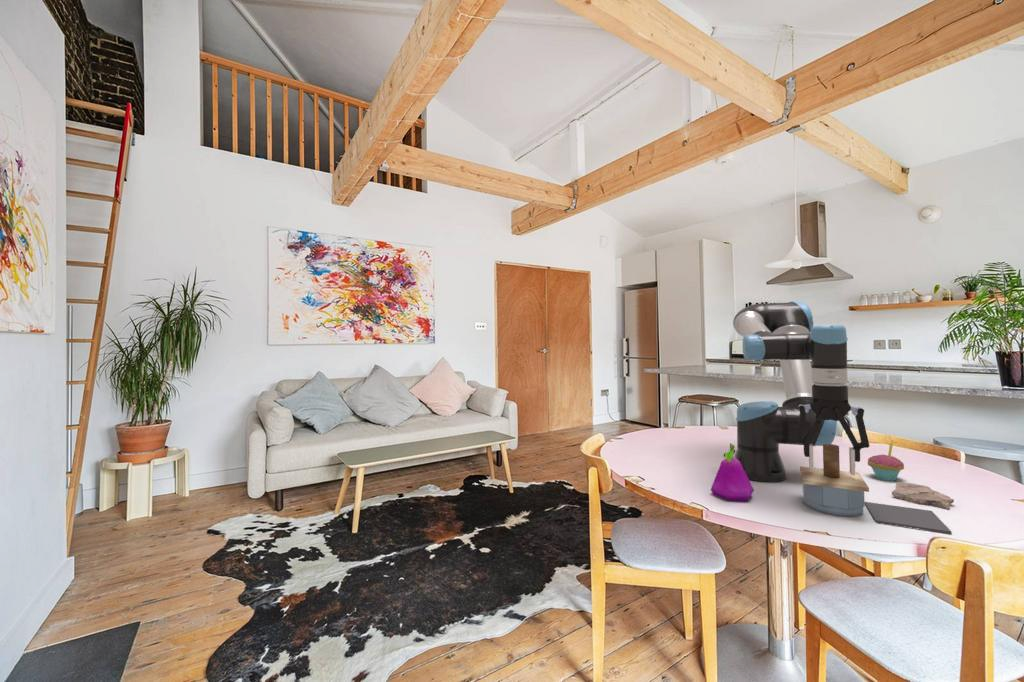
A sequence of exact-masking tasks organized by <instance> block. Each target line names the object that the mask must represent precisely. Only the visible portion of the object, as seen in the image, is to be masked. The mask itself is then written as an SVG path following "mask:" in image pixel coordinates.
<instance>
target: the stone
mask: <svg viewBox="0 0 1024 682" xmlns="http://www.w3.org/2000/svg"><path fill="white" fill-rule="evenodd" d="M894 487H895V488H894V490H892V491H891V495H892V496H893V498H895V499H897V500H901V501H905V502H908V503H912V504H917V505H920V506H921V505H926V506H931V507H936V508H939V509H943V510H950V509H951V508H950V507H951V505H952V504H953V503H954V502H955V499H954V498H951V497H950V496H948V495H946V494H944V493H940V492H938V491H937V490H934V489H932V488H931V487H930V486H927V485H923V484H917V483H910V482H903V481H898V482H896V483H895V486H894Z"/></svg>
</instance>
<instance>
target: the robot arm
mask: <svg viewBox="0 0 1024 682" xmlns="http://www.w3.org/2000/svg"><path fill="white" fill-rule="evenodd" d="M813 318H814V317H813V312H812V310H811V308H810V307H809V305H808V304H807V303H805V302H803V301H801V302H800V301H789V302H773V303H772V302H769V303H768V302H766V303H756V304H750V305H748V306H746V307H744V308H742V309H740V310H739V311H738V312H737V314H735V315H734V318H733V320H732V321H733V322H732V324H733V328H734V330H735V332H736V333H737V334H739V336H741V337H743V338H742V355H743V358H744V359H745V360H748V361H750V360H751V361H752V360H753V361H757V362H758V361H779V363H780V365H779V366H780V370H781V375H782V381H783V387H784V394H785V397H786V399H785V400H784V401H783V402H782V403H781V406H779V404H778V403H777V402H776V401H771V400H770V401H751V402H746V403H742V404H740V405H738V407H737V408H736V418H735V421H736V438H737V439H736V440H737V441H736V442H737V445H736V446H737V449H736V451H735V454H734V457H735V458H736V459H738V460H739V461H740V463H741V465H742V467H743V469H744V471H745V473H746V475H747V477H748V479H749V481H755V482H765V483H768V482H769V483H775V482H781V481H785V480H786V478H787V470H786V468H785V466H784V463H783V461H782V457H781V455H780V451H779V450H780V449H779V448H780V447H779V446H780V445H793V446H794V445H795V446H803V455H804V457H806V458H808V467H809V469H810V470H811V471H814V469H813V468H814V447H817V446H818V447H823V444H833V442H834V440H835V438H836V434H837V428H838V427H837V423H838V421H839V423H840V425H841V427H842V428H843V430H844V432H845V435H846V436H847V438H848V439H849V442H850V443H851V445H852V447H851V446H849V447H848V452H849V453H848V454H849V472H850V473H851V475H855V472H856V462H858V463H860V461H861V450H862V449H865V448H866V449H869V448H870V442H869V437H868V435H867V434H868V433H867V429H866V425H865V419H864V414H865V409H863V407H860V406H858V407H855V406H851V404H850V403H849V387H848V386H847V385H845V384H848V381H849V380H848V343H847V342H848V337H847V329H846V327H845V325H841V324H834V325H833V324H832V325H827V324H826V325H814V320H813ZM850 411H851V413H852V415H853V416H855V417H854V418H855V422H856V426H857V430H858V434H859V438H860V442H859V441H858V440H857V438H856V437H855V434H854V433H853V431H852V430H851V427H850V425H849V423H848V422H847V420H846V417H845V416H846V415H847V414H848V413H849V412H850Z"/></svg>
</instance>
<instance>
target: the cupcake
mask: <svg viewBox="0 0 1024 682" xmlns="http://www.w3.org/2000/svg"><path fill="white" fill-rule="evenodd" d="M893 440H894V439H891V441H890V442H889V445H888V446H889V448H888V449H889V450H888V454H887V455H886V454H878V455H872V456H871V457H868V459H867V466H869V467H871V469H872V472H873V473H874V475H875V478H877V479H879V480H884V481H891V482H893V481H894V482H895V481H896V480H897V478H898V476H899V474H900V472H901V471H902V470H904V469H905V465H904V462H903V461H901V460H900V459H899V458H897V457H895V456H893V455H892V452H893Z"/></svg>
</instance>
